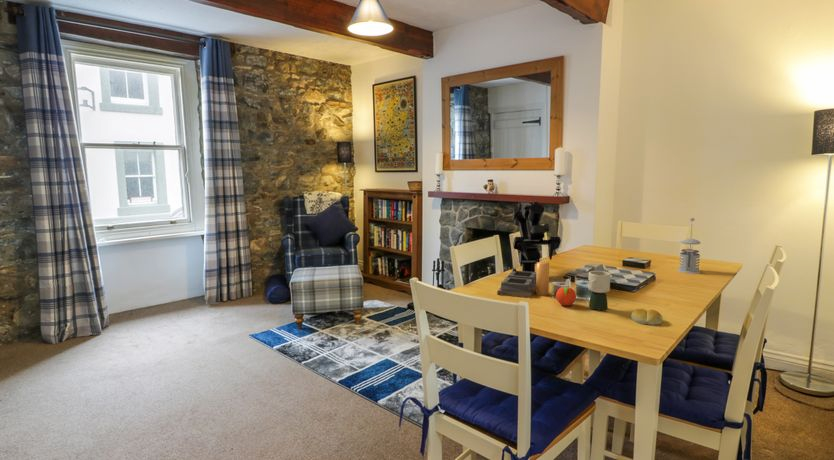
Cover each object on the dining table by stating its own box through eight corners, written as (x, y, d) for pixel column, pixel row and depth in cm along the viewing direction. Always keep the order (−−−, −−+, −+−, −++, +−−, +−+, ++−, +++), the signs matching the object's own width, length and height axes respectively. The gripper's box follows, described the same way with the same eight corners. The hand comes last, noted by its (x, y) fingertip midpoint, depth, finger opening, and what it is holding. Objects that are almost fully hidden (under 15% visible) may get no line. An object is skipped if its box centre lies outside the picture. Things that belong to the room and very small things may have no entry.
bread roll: (633, 315, 157) (633, 304, 156) (662, 320, 152) (663, 308, 151) (629, 322, 150) (629, 311, 149) (660, 327, 145) (660, 315, 144)
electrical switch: (601, 290, 187) (599, 268, 186) (588, 290, 190) (586, 267, 189) (608, 285, 194) (607, 264, 193) (595, 285, 197) (594, 263, 196)
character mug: (595, 303, 170) (596, 268, 168) (614, 307, 165) (616, 271, 163) (581, 310, 163) (582, 274, 161) (601, 314, 158) (602, 277, 156)
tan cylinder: (537, 291, 187) (537, 261, 185) (549, 293, 185) (549, 262, 183) (535, 295, 182) (535, 264, 181) (547, 296, 180) (548, 264, 179)
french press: (701, 270, 217) (705, 217, 214) (700, 275, 208) (704, 219, 204) (677, 267, 223) (680, 216, 219) (675, 272, 213) (679, 218, 210)
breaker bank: (510, 279, 207) (510, 267, 206) (540, 282, 202) (540, 269, 201) (497, 294, 184) (497, 281, 183) (530, 297, 179) (530, 283, 178)
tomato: (575, 309, 163) (576, 290, 162) (554, 308, 166) (555, 288, 165) (576, 303, 171) (576, 284, 170) (556, 301, 173) (556, 283, 172)
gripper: (514, 217, 192) (518, 248, 182) (560, 216, 191) (566, 248, 181) (511, 233, 201) (515, 264, 191) (555, 233, 200) (561, 263, 190)
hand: (539, 259), depth 188 cm, fingers open, 9 cm apart
